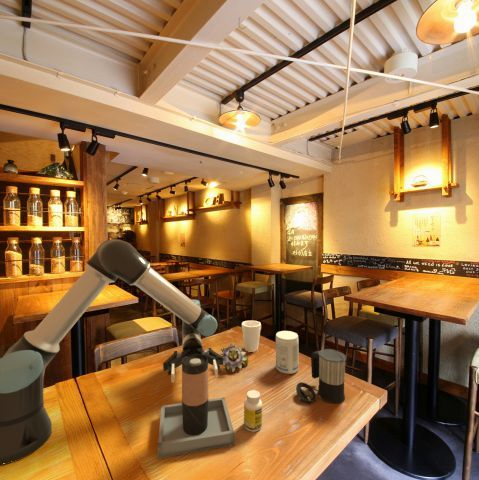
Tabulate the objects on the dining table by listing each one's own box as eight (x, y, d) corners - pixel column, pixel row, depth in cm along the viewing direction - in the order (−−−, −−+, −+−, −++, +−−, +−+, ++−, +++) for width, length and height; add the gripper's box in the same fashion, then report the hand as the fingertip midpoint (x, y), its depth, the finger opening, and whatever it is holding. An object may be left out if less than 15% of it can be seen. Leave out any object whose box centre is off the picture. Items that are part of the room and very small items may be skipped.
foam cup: (237, 350, 132) (237, 324, 131) (248, 344, 139) (248, 319, 139) (254, 355, 126) (254, 328, 126) (264, 348, 134) (264, 322, 133)
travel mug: (203, 438, 75) (203, 367, 74) (177, 434, 76) (177, 364, 76) (211, 419, 82) (211, 354, 82) (188, 415, 84) (187, 352, 83)
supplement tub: (293, 362, 120) (293, 329, 120) (302, 373, 111) (302, 338, 110) (272, 364, 118) (272, 331, 117) (280, 376, 109) (280, 340, 108)
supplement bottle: (256, 435, 77) (256, 401, 77) (240, 427, 80) (240, 395, 80) (265, 423, 82) (265, 392, 82) (249, 417, 85) (249, 386, 84)
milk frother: (349, 395, 96) (350, 354, 95) (329, 417, 85) (330, 371, 84) (313, 380, 106) (313, 342, 105) (291, 397, 95) (291, 356, 94)
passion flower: (233, 383, 113) (217, 365, 109) (227, 366, 123) (213, 349, 119) (255, 367, 114) (240, 348, 110) (247, 351, 124) (234, 333, 120)
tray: (157, 458, 69) (157, 445, 69) (161, 416, 85) (161, 405, 85) (234, 445, 74) (234, 432, 74) (224, 407, 89) (224, 397, 89)
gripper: (224, 353, 108) (234, 382, 87) (159, 359, 103) (153, 392, 82) (223, 334, 108) (234, 359, 87) (159, 340, 102) (153, 368, 82)
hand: (195, 375), depth 84 cm, fingers open, 13 cm apart
